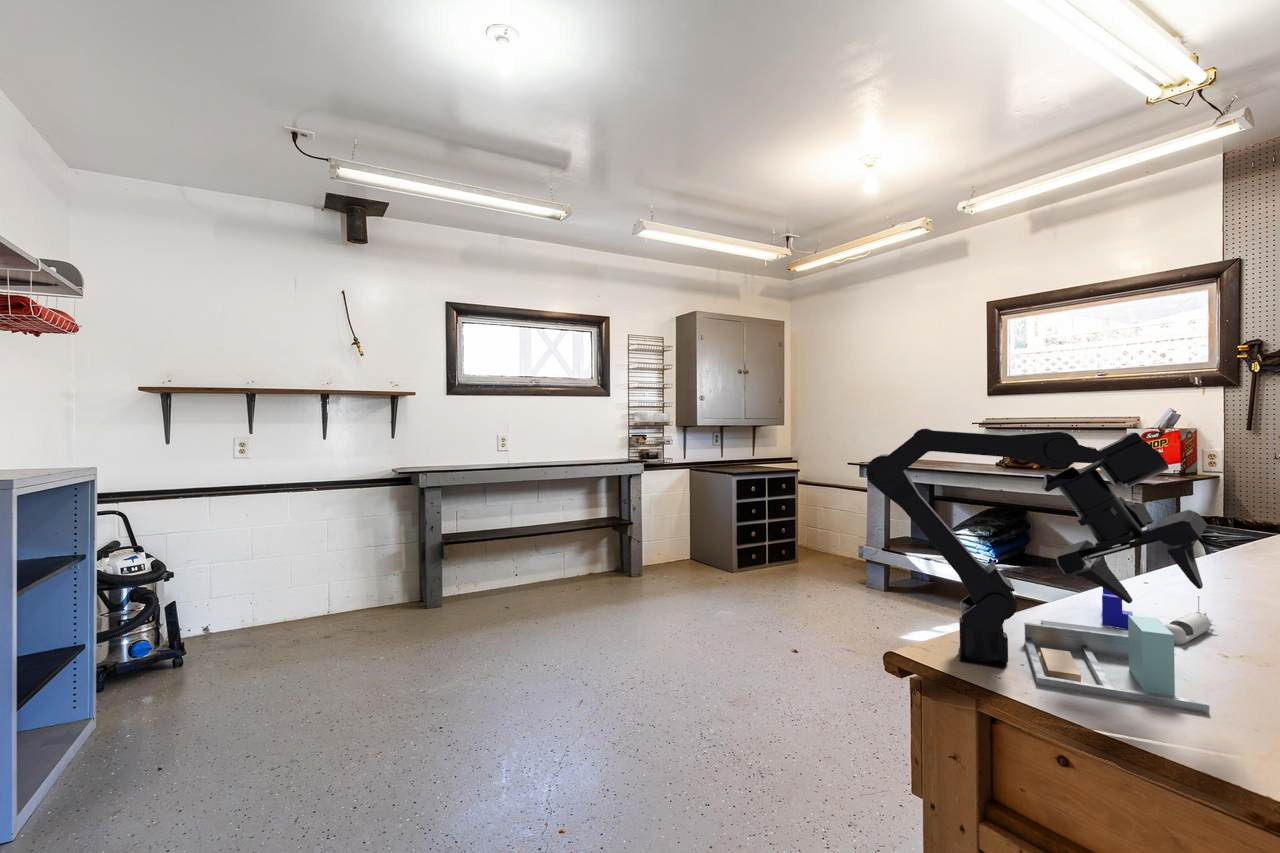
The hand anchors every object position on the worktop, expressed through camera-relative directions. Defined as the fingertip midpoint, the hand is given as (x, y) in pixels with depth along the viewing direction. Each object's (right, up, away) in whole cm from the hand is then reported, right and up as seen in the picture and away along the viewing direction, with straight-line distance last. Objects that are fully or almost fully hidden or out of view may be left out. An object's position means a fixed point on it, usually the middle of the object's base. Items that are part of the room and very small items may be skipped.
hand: (1164, 595), depth 86 cm
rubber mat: (+4, -14, +19) cm, 23 cm away
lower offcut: (-11, -15, +6) cm, 19 cm away
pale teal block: (-1, -14, +1) cm, 14 cm away
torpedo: (+23, -14, +21) cm, 34 cm away
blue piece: (+17, -14, +30) cm, 37 cm away
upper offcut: (-11, -13, +6) cm, 18 cm away
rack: (-6, -14, +4) cm, 15 cm away
